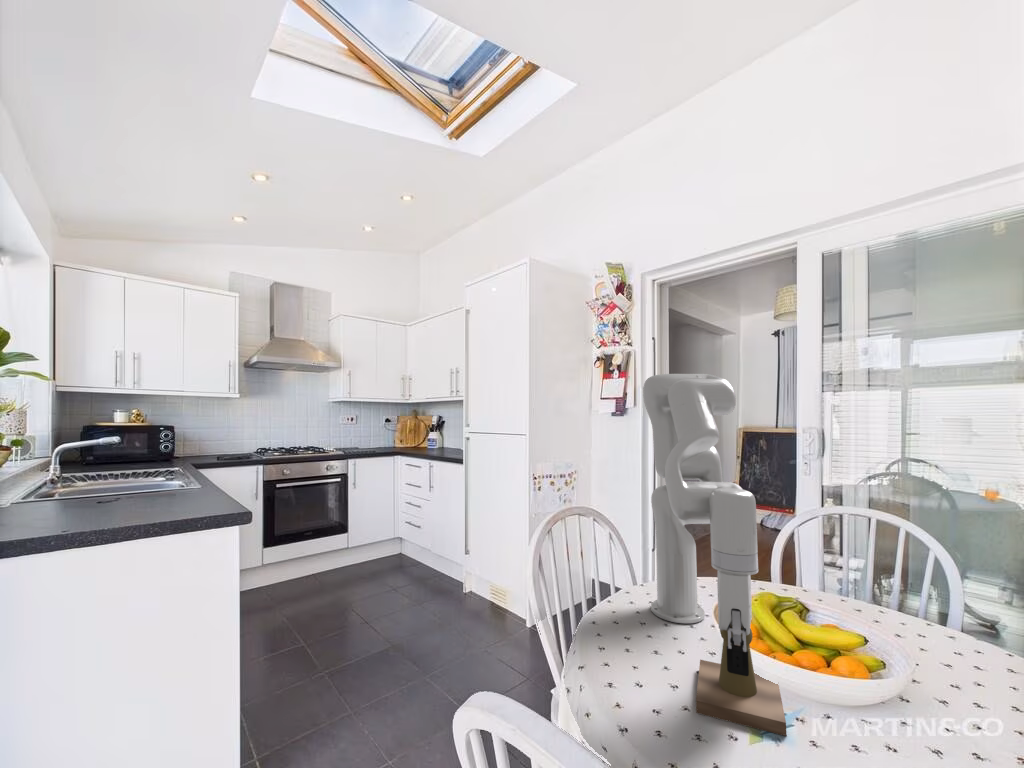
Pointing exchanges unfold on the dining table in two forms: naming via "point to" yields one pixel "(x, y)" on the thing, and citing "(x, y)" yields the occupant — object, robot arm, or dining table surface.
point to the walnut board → (740, 702)
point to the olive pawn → (735, 682)
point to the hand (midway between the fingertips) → (737, 659)
